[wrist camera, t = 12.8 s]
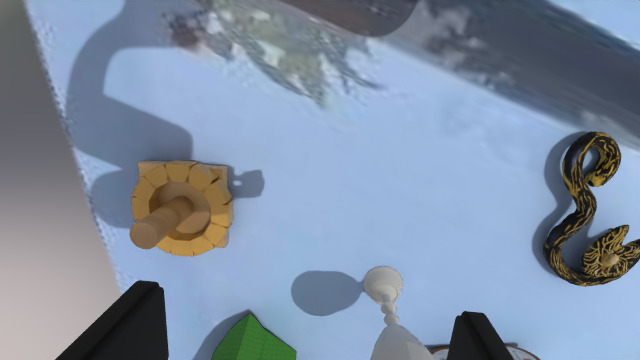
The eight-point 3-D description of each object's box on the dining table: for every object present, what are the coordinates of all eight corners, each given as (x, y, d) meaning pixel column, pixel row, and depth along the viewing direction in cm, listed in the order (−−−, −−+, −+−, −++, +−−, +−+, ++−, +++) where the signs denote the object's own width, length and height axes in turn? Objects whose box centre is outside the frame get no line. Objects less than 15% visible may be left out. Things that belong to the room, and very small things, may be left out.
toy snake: (604, 135, 30) (703, 145, 31) (566, 127, 35) (654, 136, 35) (544, 296, 36) (629, 301, 36) (519, 272, 40) (595, 277, 41)
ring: (138, 156, 37) (127, 160, 35) (233, 164, 37) (227, 168, 35) (145, 243, 40) (135, 251, 38) (233, 251, 40) (228, 260, 38)
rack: (145, 159, 39) (85, 181, 29) (227, 166, 38) (193, 189, 29) (151, 236, 41) (98, 277, 32) (228, 242, 41) (197, 286, 32)
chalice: (344, 285, 42) (348, 423, 24) (379, 248, 40) (410, 369, 23) (386, 316, 43) (420, 471, 25) (422, 282, 41) (485, 423, 24)
